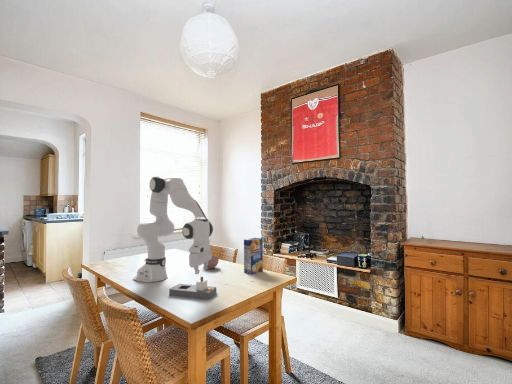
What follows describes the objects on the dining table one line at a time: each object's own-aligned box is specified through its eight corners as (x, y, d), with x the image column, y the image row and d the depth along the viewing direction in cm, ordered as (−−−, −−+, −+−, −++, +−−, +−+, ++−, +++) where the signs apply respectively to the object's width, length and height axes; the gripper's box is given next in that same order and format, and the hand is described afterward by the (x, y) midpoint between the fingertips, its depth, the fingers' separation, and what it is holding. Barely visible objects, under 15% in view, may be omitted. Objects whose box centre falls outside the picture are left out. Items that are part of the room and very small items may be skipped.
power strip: (169, 296, 153) (169, 288, 153) (179, 290, 162) (179, 282, 162) (208, 300, 146) (208, 291, 146) (216, 294, 156) (216, 286, 156)
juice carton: (255, 269, 208) (255, 237, 209) (262, 271, 203) (262, 238, 203) (244, 272, 200) (243, 239, 200) (251, 274, 194) (250, 240, 195)
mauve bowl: (219, 266, 218) (219, 251, 218) (217, 270, 206) (216, 255, 206) (204, 266, 219) (204, 251, 219) (201, 270, 207) (201, 255, 207)
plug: (196, 296, 151) (196, 278, 151) (200, 293, 155) (200, 275, 156) (203, 297, 150) (203, 278, 150) (207, 294, 154) (207, 276, 154)
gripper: (204, 243, 164) (204, 266, 164) (187, 249, 144) (186, 276, 144) (214, 243, 162) (214, 267, 162) (197, 250, 143) (197, 277, 143)
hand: (201, 271), depth 153 cm, fingers open, 8 cm apart
